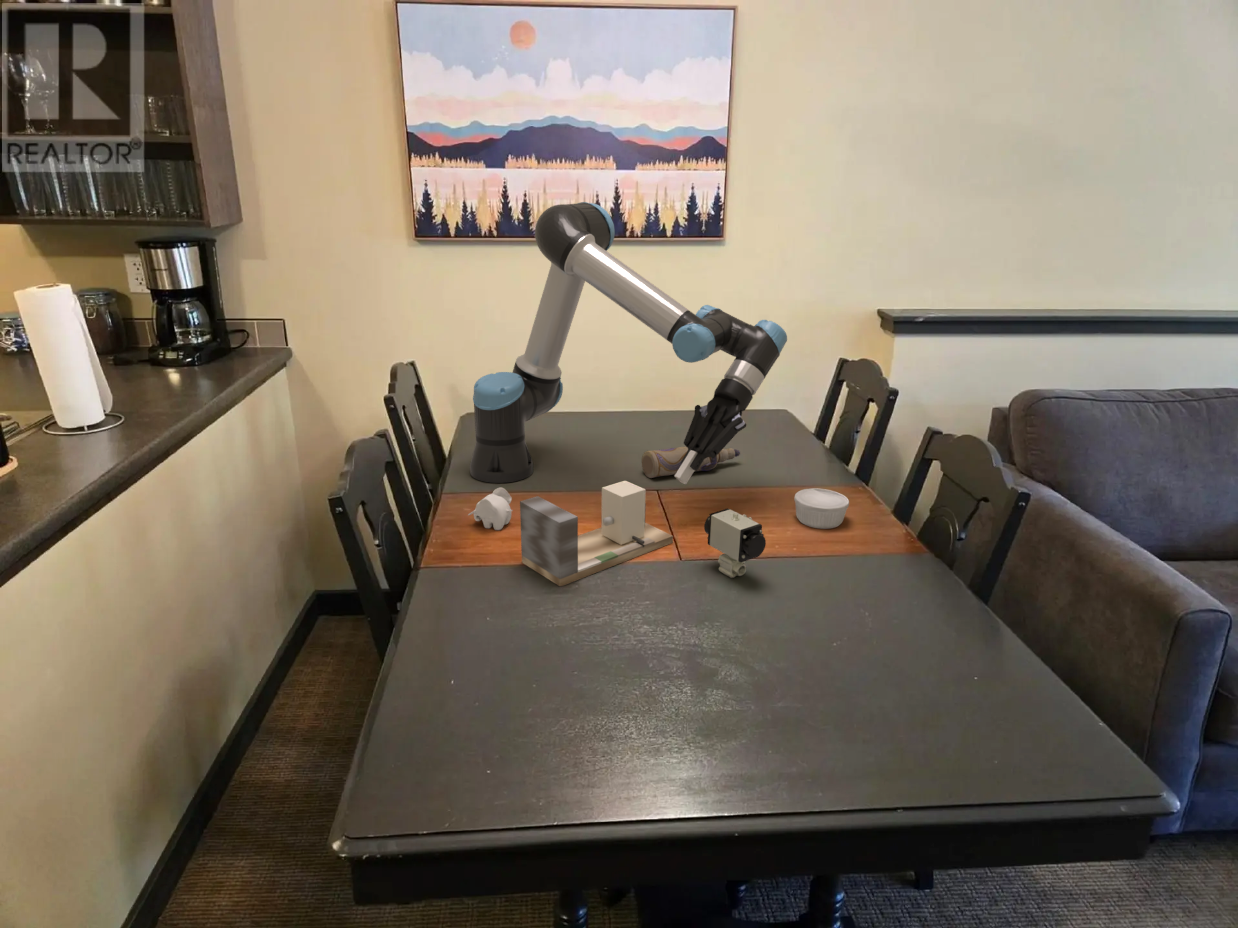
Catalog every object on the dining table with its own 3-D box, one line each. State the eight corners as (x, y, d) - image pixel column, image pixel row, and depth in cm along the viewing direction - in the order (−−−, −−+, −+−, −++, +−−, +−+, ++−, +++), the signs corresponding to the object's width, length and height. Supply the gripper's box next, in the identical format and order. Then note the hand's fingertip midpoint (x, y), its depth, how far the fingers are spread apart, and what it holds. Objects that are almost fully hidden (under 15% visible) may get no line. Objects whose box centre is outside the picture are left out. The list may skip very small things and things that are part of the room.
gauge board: (521, 562, 152) (519, 501, 148) (632, 522, 170) (633, 467, 165) (560, 586, 144) (559, 522, 139) (672, 542, 161) (675, 484, 157)
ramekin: (850, 515, 175) (853, 493, 173) (841, 535, 166) (843, 512, 164) (799, 506, 179) (801, 484, 178) (787, 525, 170) (789, 502, 168)
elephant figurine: (480, 513, 173) (479, 483, 170) (521, 520, 170) (520, 489, 167) (462, 528, 166) (460, 496, 164) (504, 535, 163) (503, 503, 161)
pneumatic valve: (744, 589, 144) (749, 528, 140) (701, 563, 153) (704, 505, 149) (766, 580, 147) (771, 520, 143) (722, 556, 156) (726, 499, 152)
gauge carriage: (595, 536, 159) (595, 489, 156) (626, 525, 164) (627, 479, 161) (625, 552, 153) (626, 503, 149) (656, 540, 158) (658, 493, 154)
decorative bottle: (653, 483, 191) (654, 456, 189) (640, 472, 197) (640, 447, 195) (747, 469, 201) (749, 443, 198) (731, 459, 207) (733, 435, 205)
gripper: (770, 403, 167) (712, 498, 163) (722, 390, 177) (666, 480, 172) (755, 383, 162) (694, 480, 158) (707, 371, 171) (648, 462, 167)
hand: (680, 480), depth 165 cm, fingers closed
